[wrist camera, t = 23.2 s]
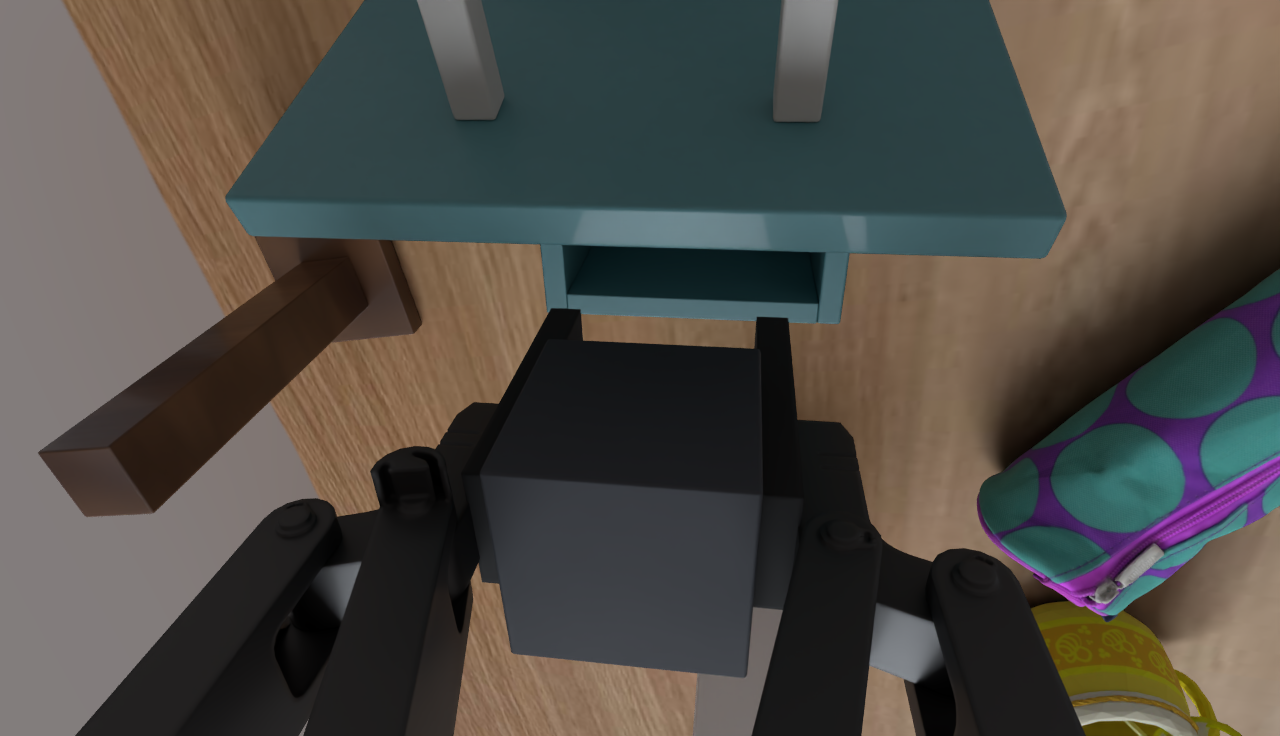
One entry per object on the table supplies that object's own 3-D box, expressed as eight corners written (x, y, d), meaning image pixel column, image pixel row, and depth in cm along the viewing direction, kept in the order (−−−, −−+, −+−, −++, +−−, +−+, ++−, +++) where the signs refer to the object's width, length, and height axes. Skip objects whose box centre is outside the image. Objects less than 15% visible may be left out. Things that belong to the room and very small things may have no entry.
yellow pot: (956, 686, 51) (1008, 873, 41) (993, 579, 45) (1064, 765, 35) (1149, 706, 49) (1253, 906, 39) (1212, 597, 44) (1352, 798, 33)
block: (563, 498, 17) (510, 654, 13) (547, 337, 15) (477, 472, 11) (748, 512, 16) (747, 680, 13) (760, 347, 14) (763, 493, 10)
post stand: (264, 224, 39) (-48, 408, 24) (379, 208, 38) (125, 392, 22) (315, 335, 42) (71, 559, 27) (422, 324, 41) (227, 553, 26)
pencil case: (1059, 536, 43) (1132, 677, 35) (952, 461, 41) (1001, 590, 33) (1444, 285, 32) (1677, 401, 24) (1323, 171, 31) (1529, 254, 23)
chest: (821, 242, 35) (839, 325, 28) (588, 236, 37) (546, 313, 29) (866, -149, 27) (910, -182, 20) (565, -136, 29) (499, -163, 21)
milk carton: (812, 574, 47) (844, 905, 31) (800, 644, 51) (822, 972, 35) (705, 563, 48) (681, 880, 32) (700, 633, 52) (677, 949, 35)
